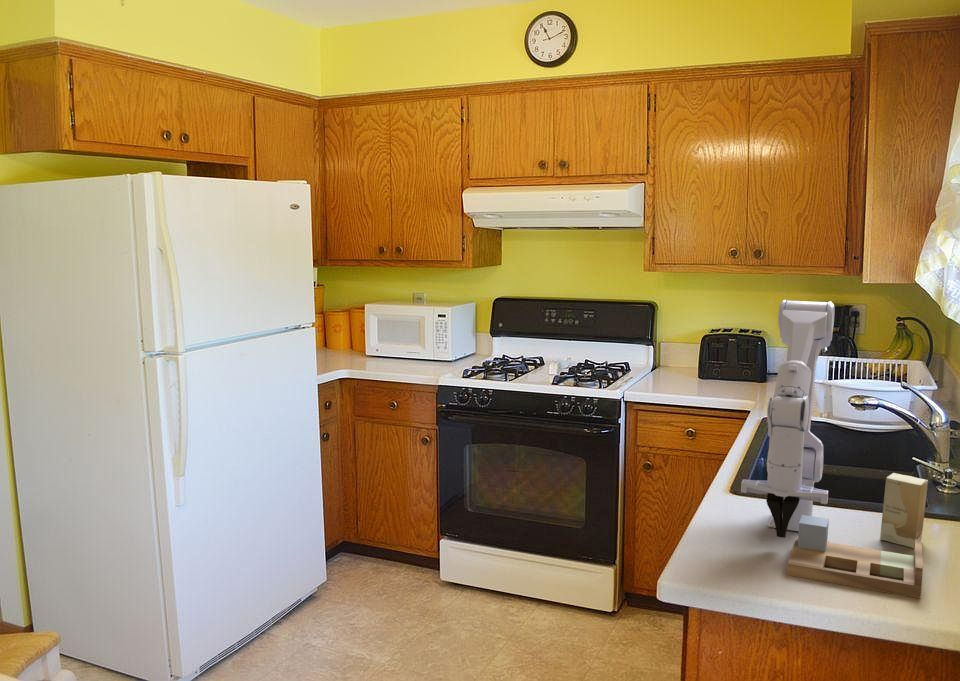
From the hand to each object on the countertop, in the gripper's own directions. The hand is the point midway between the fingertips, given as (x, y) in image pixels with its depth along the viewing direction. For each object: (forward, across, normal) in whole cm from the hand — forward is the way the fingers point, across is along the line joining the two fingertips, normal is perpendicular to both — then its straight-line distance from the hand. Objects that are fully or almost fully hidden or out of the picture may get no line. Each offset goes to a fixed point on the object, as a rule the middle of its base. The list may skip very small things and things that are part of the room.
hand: (781, 535), depth 150 cm
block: (+1, +5, 0) cm, 5 cm away
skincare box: (+3, +20, +15) cm, 25 cm away
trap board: (+3, +12, -4) cm, 13 cm away
